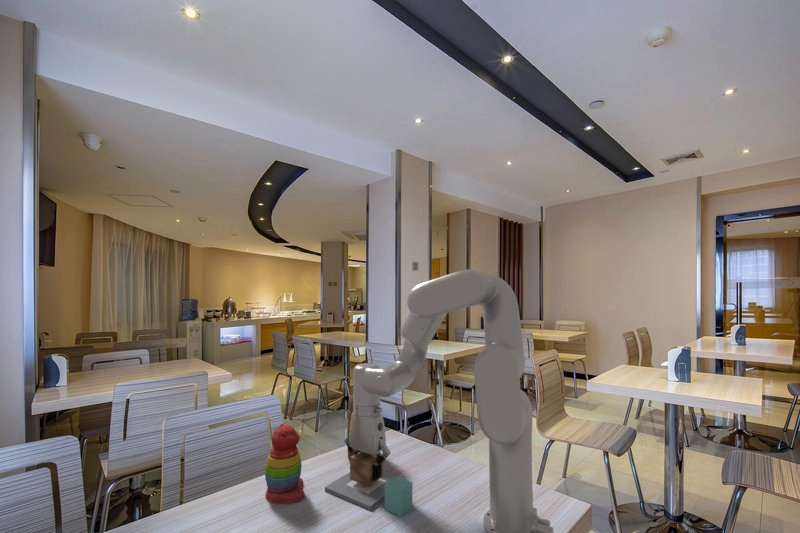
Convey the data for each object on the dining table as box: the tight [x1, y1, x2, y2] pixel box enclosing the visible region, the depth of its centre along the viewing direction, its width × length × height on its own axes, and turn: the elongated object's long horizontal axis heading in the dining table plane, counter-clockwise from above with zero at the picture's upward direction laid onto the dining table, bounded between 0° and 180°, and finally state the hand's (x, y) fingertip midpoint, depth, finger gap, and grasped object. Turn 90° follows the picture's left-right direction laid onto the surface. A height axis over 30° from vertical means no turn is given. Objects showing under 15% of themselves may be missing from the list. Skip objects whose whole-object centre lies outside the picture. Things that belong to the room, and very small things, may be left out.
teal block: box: [384, 475, 413, 517], centre depth 94 cm, size 5×5×6 cm
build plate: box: [324, 470, 407, 511], centre depth 103 cm, size 16×16×1 cm
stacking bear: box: [264, 422, 306, 504], centre depth 101 cm, size 11×10×18 cm
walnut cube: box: [349, 451, 384, 486], centre depth 104 cm, size 6×6×6 cm
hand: (366, 474), depth 103 cm, fingers closed on walnut cube, 6 cm apart
